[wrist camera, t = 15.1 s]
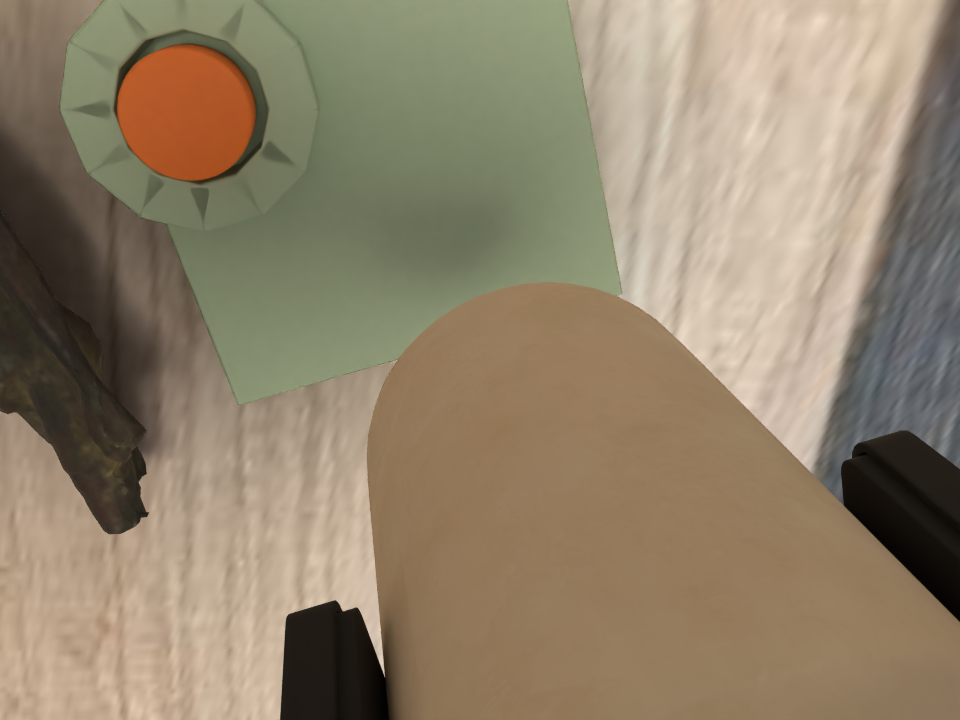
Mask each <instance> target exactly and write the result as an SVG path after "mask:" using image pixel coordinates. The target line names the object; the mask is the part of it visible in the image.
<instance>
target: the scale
mask: <svg viewBox="0 0 960 720" xmlns="http://www.w3.org/2000/svg"><path fill="white" fill-rule="evenodd" d="M177 44H197V45H202V46H205V47H208V48H211V49H214V50H216V51H218V52H220V53H221V54H223V55H224V56H226V57H228V58H229V59H230V60H231V61H232V62H234V63H235V64H236V65H237V67H238V68H239V69H240V70H241V71H242V73H243V74H244V75H245V77H246V78H247V80H248V82H249V84H250V86H251V89H252V91H253V94H254V98H255V103H256V122H255V127H254V131H253V134H252V136H251V138H250V141H249V143H248V145H247V147H246V149H245V151H244V153H243V154H242V156H241V157H240V158H239V160H238V161H237V162H236V163H235V164H234V165H233V166H232V167H230V168H229V169H228V170H226V171H225V172H223V173H221V174H219V175H217V176H214V177H212V178H209V179H204V180H196V181H187V180H179V179H174V178H171V177H168V176H165V175H163V174H160V173H158V172H157V171H155V170H153V169H151V168H150V167H149V166H147V165H146V164H145V163H143V162H142V161H141V160H140V159H139V158H138V157H137V156H136V155H135V153H134V152H133V151H132V150H131V148H130V147H129V145H128V144H127V142H126V140H125V138H124V136H123V134H122V131H121V128H120V125H119V120H118V113H117V103H118V95H119V91H120V88H121V85H122V82H123V80H124V79H125V77H126V75H127V73H128V72H129V71H130V69H131V68H132V67H133V66H134V65H135V64H136V63H137V62H138V61H140V60H141V59H142V58H144V57H145V56H147V55H149V54H151V53H153V52H155V51H158V50H160V49H163V48H165V47H168V46H172V45H177ZM60 109H61V110H60V113H61V115H62V117H63V120H64V122H65V124H66V127H67V129H68V131H69V134H70V136H71V138H72V141H73V143H74V145H75V148H76V150H77V152H78V155H79V157H80V159H81V162H82V164H83V166H84V169H85V171H86V172H87V173H89V175H90V176H91V177H92V178H93V179H94V180H96V181H97V182H98V183H99V184H100V185H102V186H103V187H104V188H105V189H106V190H108V191H109V192H110V193H111V194H112V195H114V196H115V197H116V198H117V199H119V200H120V201H121V202H122V203H123V204H125V205H126V206H127V207H128V208H129V209H131V210H132V211H133V212H134V213H135V214H137V215H139V216H140V217H141V218H143V219H147V220H152V221H156V222H160V223H165V224H166V226H167V229H168V231H169V234H170V236H171V239H172V241H173V244H174V246H175V249H176V251H177V254H178V256H179V259H180V261H181V264H182V266H183V269H184V271H185V274H186V276H187V279H188V281H189V284H190V286H191V289H192V291H193V294H194V296H195V299H196V301H197V304H198V306H199V309H200V311H201V314H202V316H203V319H204V321H205V324H206V326H207V329H208V331H209V334H210V336H211V339H212V341H213V344H214V346H215V349H216V351H217V354H218V356H219V359H220V361H221V364H222V366H223V369H224V371H225V374H226V376H227V379H228V381H229V384H230V386H231V389H232V391H233V394H234V396H235V399H236V401H237V403H238V405H242V404H245V403H249V402H252V401H256V400H259V399H263V398H266V397H269V396H273V395H276V394H280V393H283V392H287V391H290V390H294V389H297V388H300V387H304V386H307V385H311V384H314V383H318V382H321V381H324V380H328V379H331V378H335V377H338V376H342V375H345V374H349V373H352V372H355V371H359V370H362V369H366V368H369V367H373V366H376V365H380V364H383V363H386V362H390V361H393V360H397V359H399V358H400V357H401V355H402V354H403V352H404V351H405V350H406V348H407V347H408V346H409V345H410V344H411V343H412V342H413V341H414V340H415V339H416V338H417V337H418V336H419V335H420V334H421V333H422V332H423V331H424V330H425V329H426V328H428V327H429V326H430V325H431V324H432V323H434V322H435V321H436V320H437V319H439V318H440V317H441V316H443V315H445V314H446V313H448V312H449V311H451V310H452V309H454V308H456V307H457V306H459V305H461V304H463V303H465V302H467V301H469V300H471V299H473V298H476V297H478V296H480V295H483V294H486V293H489V292H492V291H495V290H498V289H501V288H505V287H510V286H515V285H520V284H526V283H540V282H557V283H571V284H576V285H582V286H587V287H592V288H595V289H598V290H601V291H604V292H607V293H609V294H612V295H614V296H617V295H620V294H622V288H621V283H620V277H619V272H618V267H617V261H616V256H615V251H614V245H613V240H612V235H611V229H610V224H609V219H608V213H607V208H606V203H605V197H604V192H603V187H602V181H601V176H600V171H599V165H598V160H597V155H596V149H595V144H594V139H593V133H592V128H591V123H590V117H589V112H588V107H587V101H586V96H585V91H584V85H583V80H582V75H581V69H580V64H579V59H578V53H577V48H576V43H575V37H574V32H573V27H572V21H571V16H570V11H569V5H568V0H104V1H103V2H102V3H101V4H100V5H99V6H98V7H97V9H96V10H95V11H94V12H93V13H92V14H91V16H90V17H89V18H88V19H87V20H86V21H85V22H84V24H83V25H82V26H81V27H80V28H79V29H78V31H77V32H76V33H75V34H74V35H73V36H72V38H71V39H70V42H69V43H68V44H67V50H66V58H65V66H64V74H63V82H62V90H61V99H60Z"/></svg>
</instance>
